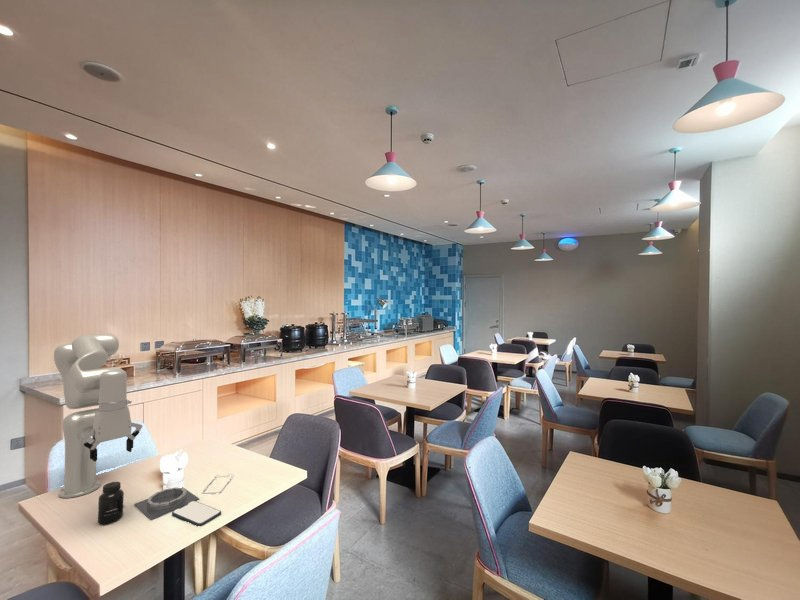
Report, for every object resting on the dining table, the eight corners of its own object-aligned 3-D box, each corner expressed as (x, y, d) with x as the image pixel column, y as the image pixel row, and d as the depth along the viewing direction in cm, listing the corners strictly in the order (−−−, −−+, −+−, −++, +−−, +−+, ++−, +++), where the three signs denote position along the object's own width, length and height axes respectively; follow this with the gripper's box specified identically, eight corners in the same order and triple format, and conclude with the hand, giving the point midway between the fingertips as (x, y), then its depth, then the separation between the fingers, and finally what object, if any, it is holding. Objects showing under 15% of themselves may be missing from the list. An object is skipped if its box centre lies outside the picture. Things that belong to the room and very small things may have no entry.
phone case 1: (222, 515, 126) (193, 504, 132) (223, 511, 126) (193, 499, 132) (199, 529, 118) (169, 516, 124) (199, 524, 118) (169, 512, 124)
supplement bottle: (108, 526, 118) (109, 490, 118) (92, 524, 119) (93, 488, 120) (128, 515, 125) (128, 480, 125) (112, 512, 126) (113, 479, 126)
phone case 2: (220, 495, 139) (233, 477, 154) (220, 491, 139) (233, 474, 154) (200, 496, 138) (216, 478, 153) (200, 492, 138) (216, 474, 153)
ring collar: (134, 505, 131) (134, 498, 131) (181, 487, 144) (181, 481, 144) (150, 520, 121) (150, 512, 122) (199, 500, 134) (199, 493, 134)
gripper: (138, 399, 132) (137, 445, 132) (77, 410, 118) (76, 461, 118) (145, 402, 128) (145, 449, 127) (83, 413, 114) (82, 467, 113)
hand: (112, 455), depth 123 cm, fingers open, 9 cm apart
